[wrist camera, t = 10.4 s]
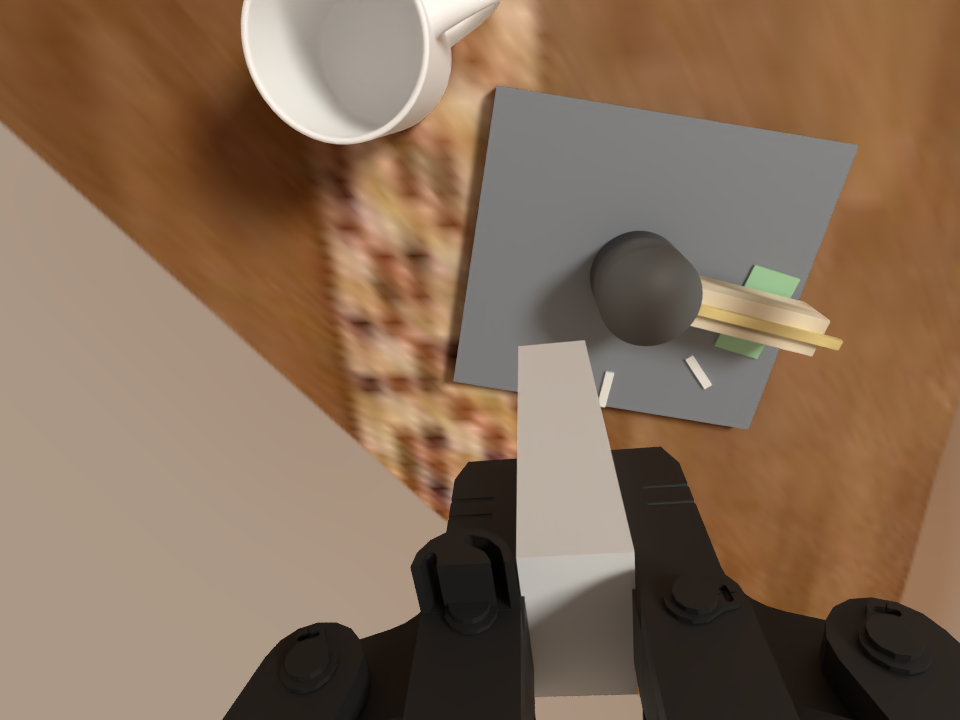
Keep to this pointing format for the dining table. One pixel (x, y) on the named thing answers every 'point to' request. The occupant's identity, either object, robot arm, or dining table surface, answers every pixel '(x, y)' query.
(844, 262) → the dining table surface
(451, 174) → the dining table surface
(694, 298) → the dial lever
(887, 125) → the dining table surface
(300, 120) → the mug
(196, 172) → the dining table surface
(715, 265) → the gauge board
